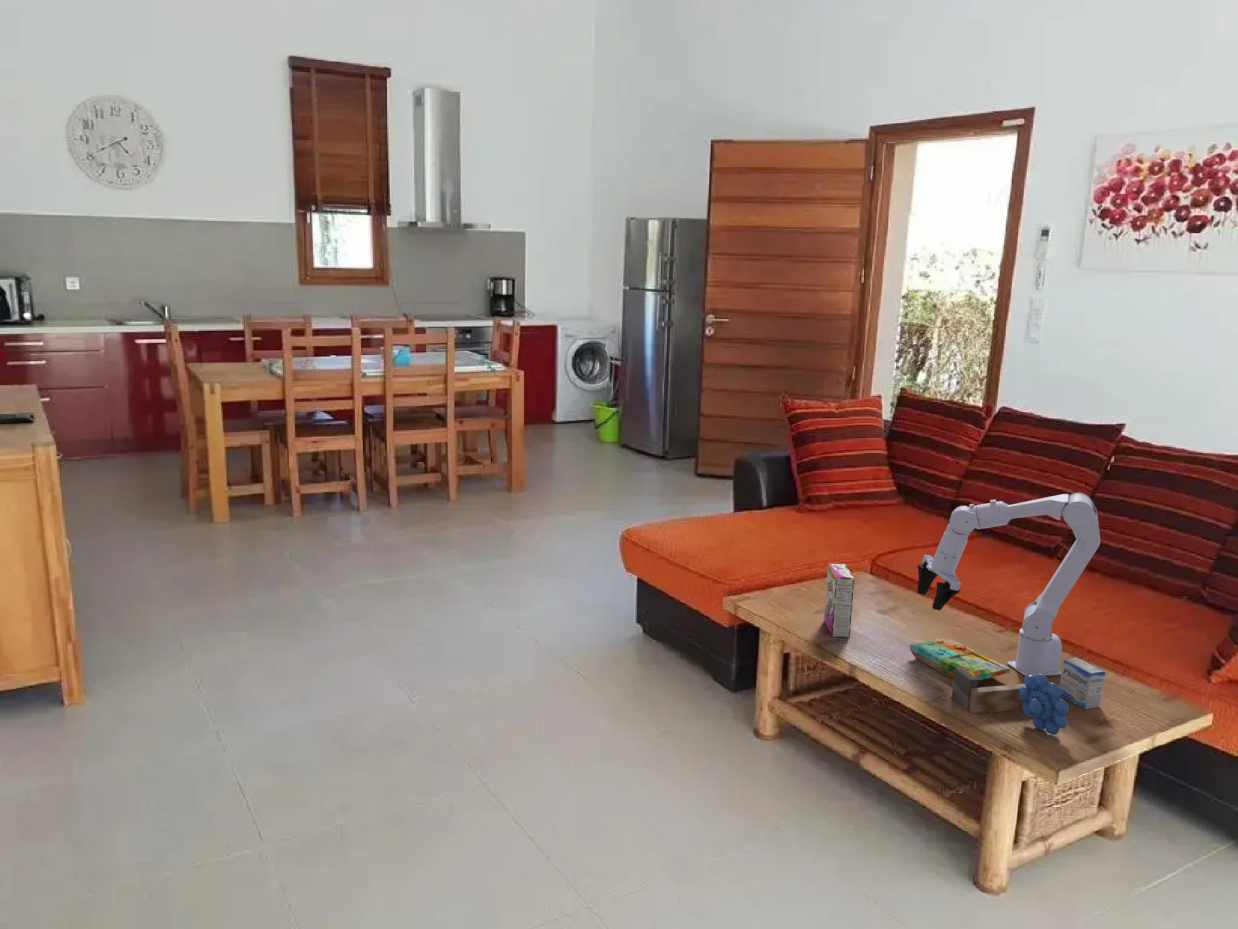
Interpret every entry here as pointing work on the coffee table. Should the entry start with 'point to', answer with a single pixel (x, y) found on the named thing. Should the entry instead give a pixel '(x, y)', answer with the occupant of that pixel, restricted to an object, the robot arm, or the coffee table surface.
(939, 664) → the puzzle game
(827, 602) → the candy bar box
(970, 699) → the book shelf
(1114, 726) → the coffee table surface
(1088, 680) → the medicine box
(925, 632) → the coffee table surface
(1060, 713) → the grapes
